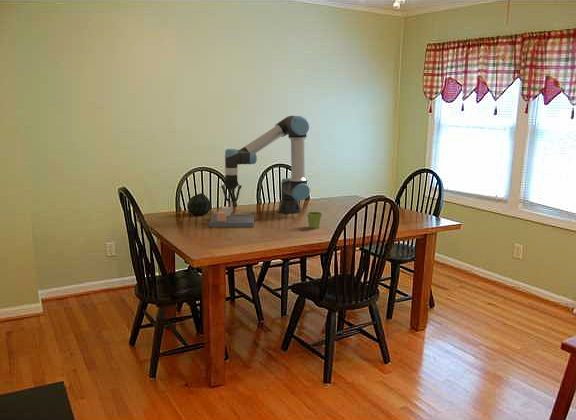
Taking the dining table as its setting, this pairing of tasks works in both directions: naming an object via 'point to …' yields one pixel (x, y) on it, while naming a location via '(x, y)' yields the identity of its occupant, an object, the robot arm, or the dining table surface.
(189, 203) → the squash
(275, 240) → the dining table surface
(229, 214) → the block
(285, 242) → the dining table surface
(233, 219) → the console
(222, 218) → the salmon orange block
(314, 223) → the plant pot
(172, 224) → the dining table surface
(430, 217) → the dining table surface
